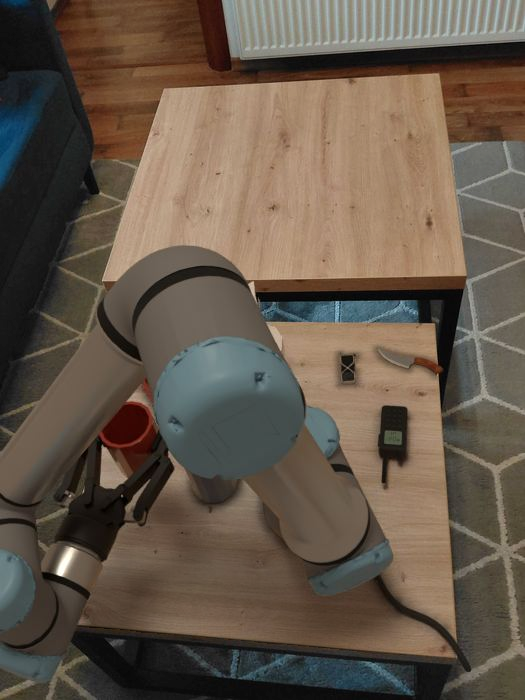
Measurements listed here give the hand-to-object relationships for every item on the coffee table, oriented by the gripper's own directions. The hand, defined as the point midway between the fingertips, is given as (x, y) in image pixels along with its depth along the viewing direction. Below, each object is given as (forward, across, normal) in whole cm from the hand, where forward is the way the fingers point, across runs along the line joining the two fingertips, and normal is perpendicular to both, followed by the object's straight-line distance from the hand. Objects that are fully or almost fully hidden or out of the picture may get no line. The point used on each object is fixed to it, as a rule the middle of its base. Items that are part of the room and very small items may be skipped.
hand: (145, 411), depth 99 cm
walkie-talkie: (+22, +35, -20) cm, 46 cm away
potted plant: (+26, +8, -22) cm, 35 cm away
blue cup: (+1, +7, -22) cm, 23 cm away
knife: (+32, +35, -22) cm, 53 cm away
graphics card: (+30, +23, -22) cm, 43 cm away
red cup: (-5, 0, -6) cm, 8 cm away
